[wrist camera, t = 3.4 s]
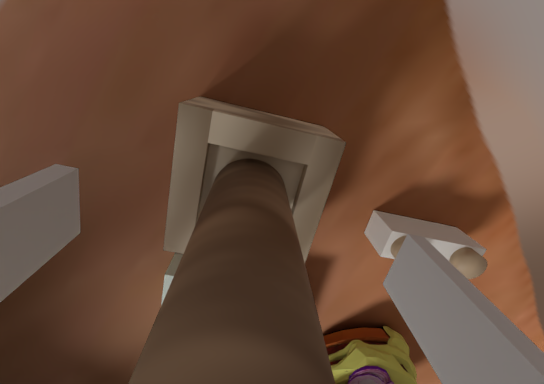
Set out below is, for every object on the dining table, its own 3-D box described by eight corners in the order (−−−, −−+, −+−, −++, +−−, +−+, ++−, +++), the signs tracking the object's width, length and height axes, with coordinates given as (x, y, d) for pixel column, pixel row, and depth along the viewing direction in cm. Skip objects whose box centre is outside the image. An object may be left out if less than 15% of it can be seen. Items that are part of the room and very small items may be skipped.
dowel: (207, 218, 15) (76, 580, 4) (218, 151, 14) (66, 435, 3) (275, 231, 16) (317, 583, 5) (293, 167, 14) (413, 460, 3)
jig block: (184, 211, 19) (163, 250, 15) (199, 96, 17) (178, 102, 12) (291, 231, 21) (301, 273, 16) (324, 126, 18) (346, 142, 13)
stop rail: (363, 232, 21) (386, 265, 17) (373, 210, 20) (399, 239, 17) (444, 248, 22) (482, 282, 18) (456, 227, 21) (498, 258, 17)
